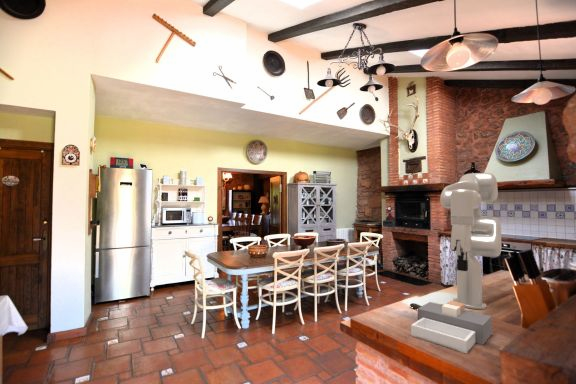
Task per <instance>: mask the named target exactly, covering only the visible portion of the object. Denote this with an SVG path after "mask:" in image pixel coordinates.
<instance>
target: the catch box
mask: <svg viewBox="0 0 576 384" xmlns="http://www.w3.org/2000/svg"><path fill="white" fill-rule="evenodd" d="M410 336H411V337H414V338H417V339H420V340H423V341H425V342H429V343H432V344H435V345H438V346H441V347H444V348H448V349H449V350H450V349H451V350H453V351H457V352H460V353H463V354H468V353H469V351H470V350H471V349H472V348H473V347H474V345H475V344H477V343H476V336H475V331H471V330H467V329H464V328H460V327H456V326H453V325H449V324H445V323H442V322H438V321H434V320H430V319H427V318H421V319H420V320H418V319H417V321H415V322H413V323H412V324H411V325H410Z"/></svg>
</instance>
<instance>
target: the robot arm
mask: <svg viewBox="0 0 576 384" xmlns="http://www.w3.org/2000/svg"><path fill="white" fill-rule="evenodd" d="M498 194H499V191H498V181H497V178H496V175H494V174H493V173H491V172H475V173H472V172H471V173H466V174H464V175H462V176H461V177H460V178H459V181H458V182H455V183H452V184H449V185H446V186H445V187H444V188H443V190H442V191H441V193H440V197H439V198H440V199H439V201H440V205H441V207H442V208H444V209H450V226H451V234H450V235H451V236H450V251H451V252H455V253H456V254H455V255H456V298H453V300H452V301H454V302H459V303H464V304H465V309H472V310H485V309H487V304H486V303H485V302H483V270H482V269H483V267H482V263H481V262H480V261H479V259H477V258H476V256H477V257H488V258H489V257H490V258H496V257H499V256H501V252H502V226H501V222H500V220H499V219H498V218H497V217H493V216H483V214H482V213H483V211H482V210H481V209H480V208H479V206H480V205H481V204H482V202H484V203H485V202H489V203H491V202H495V201H496V200H497V198H498V196H499V195H498Z"/></svg>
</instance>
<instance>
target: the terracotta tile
mask: <svg viewBox="0 0 576 384" xmlns="http://www.w3.org/2000/svg"><path fill="white" fill-rule="evenodd" d="M446 304H451V305H455V306H460V307H461V313H463V312H464V311H465V310H466V307H465V304H464V303H459V302H454V301H453V300H450V301H448V302H447V303H446Z"/></svg>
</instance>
